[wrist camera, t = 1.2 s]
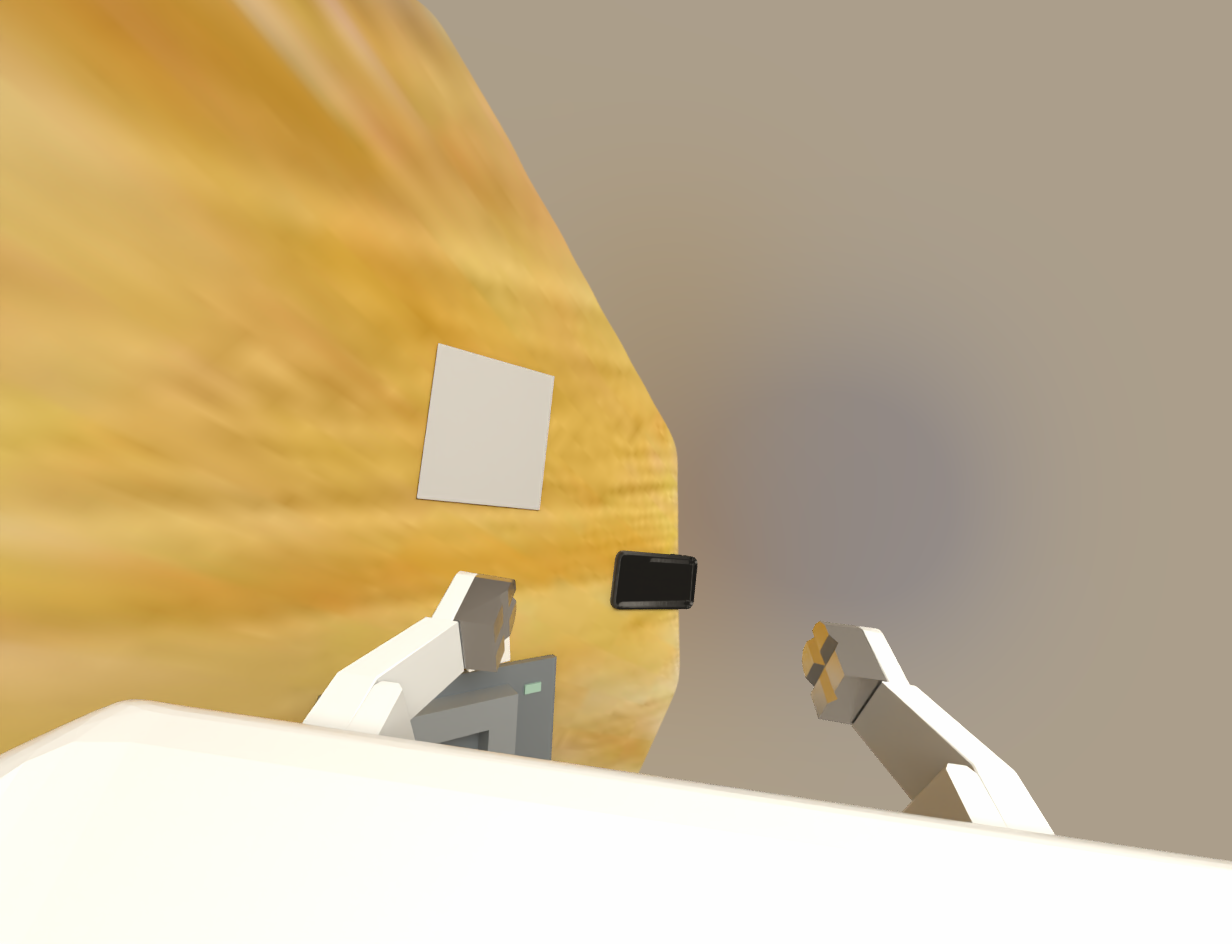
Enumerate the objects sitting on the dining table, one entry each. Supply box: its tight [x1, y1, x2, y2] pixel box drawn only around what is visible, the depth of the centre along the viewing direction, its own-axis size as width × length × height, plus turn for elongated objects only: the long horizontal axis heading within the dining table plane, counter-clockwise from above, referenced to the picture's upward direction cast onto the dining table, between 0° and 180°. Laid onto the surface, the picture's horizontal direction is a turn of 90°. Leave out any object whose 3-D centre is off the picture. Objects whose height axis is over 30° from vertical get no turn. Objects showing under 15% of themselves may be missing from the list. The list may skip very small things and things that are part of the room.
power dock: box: [318, 654, 556, 760], centre depth 45 cm, size 24×16×4 cm, turn 86°
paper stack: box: [417, 343, 554, 510], centre depth 53 cm, size 23×25×1 cm
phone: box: [610, 551, 697, 609], centre depth 64 cm, size 8×1×15 cm
